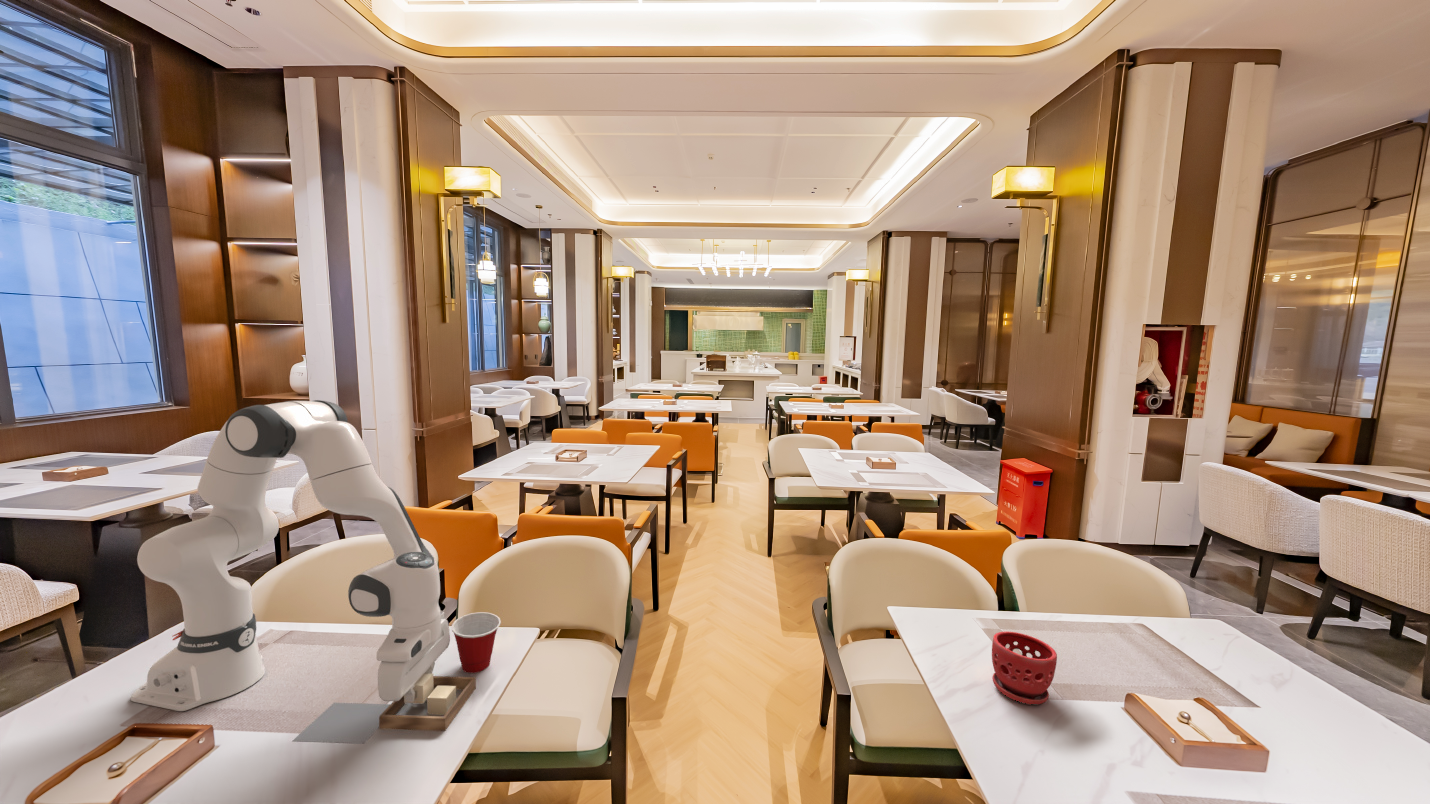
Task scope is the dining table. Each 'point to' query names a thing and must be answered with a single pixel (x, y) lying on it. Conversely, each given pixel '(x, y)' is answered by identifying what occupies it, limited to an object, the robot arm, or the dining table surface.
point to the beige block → (441, 699)
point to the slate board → (344, 723)
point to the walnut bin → (429, 722)
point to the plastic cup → (475, 639)
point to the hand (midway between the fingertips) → (418, 692)
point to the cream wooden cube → (423, 688)
